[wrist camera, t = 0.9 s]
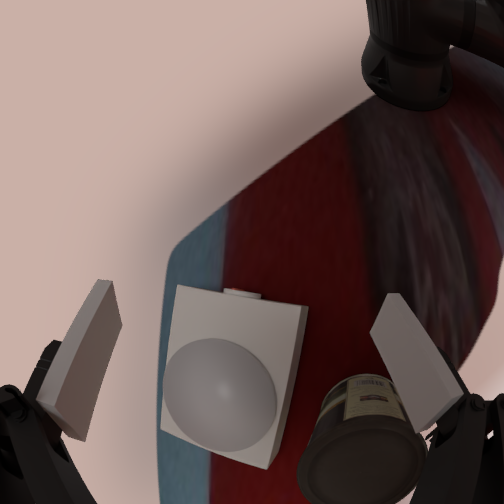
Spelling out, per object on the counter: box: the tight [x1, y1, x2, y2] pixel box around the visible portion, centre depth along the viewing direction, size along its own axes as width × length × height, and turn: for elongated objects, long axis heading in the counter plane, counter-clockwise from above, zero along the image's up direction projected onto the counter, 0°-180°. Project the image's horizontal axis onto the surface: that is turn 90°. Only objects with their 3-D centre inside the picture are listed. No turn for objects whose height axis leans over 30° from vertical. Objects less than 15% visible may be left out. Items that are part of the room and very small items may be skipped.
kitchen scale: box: [161, 285, 309, 470], centre depth 31 cm, size 15×21×6 cm
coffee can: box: [297, 374, 428, 504], centre depth 21 cm, size 10×10×14 cm
